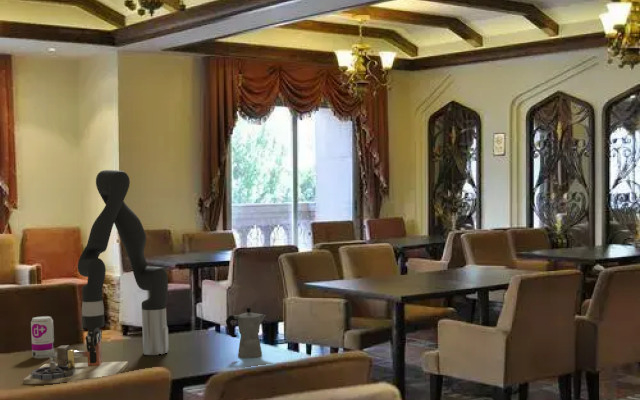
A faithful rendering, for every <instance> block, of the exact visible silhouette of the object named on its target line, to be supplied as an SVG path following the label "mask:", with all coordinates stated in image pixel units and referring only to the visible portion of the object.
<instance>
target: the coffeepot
mask: <svg viewBox="0 0 640 400" xmlns="http://www.w3.org/2000/svg"><path fill="white" fill-rule="evenodd" d="M251 310H252V309H251V307H247V308H246V312H244V313H240V314H233V315H232V314H231V315H228V317H227V318H226V320H225V324H226V326H227V329H228V332H229V334H230V336H231V338H237V336H238V334H234V329H233V325H232V323H231V322H232V321H237V327H238V332H239V334H240V339H239V344H238V345H239V346H238V352H237V353H238V354H237V357H239V358H242V359H243V358H244V359H252V358H253V359H254V358H258V357H261V356H262V355H263V352H262V347H261V341H260V338H259V334H260V328H261V325H262V323H263V321H264V319H265V318H266V317H267V315H266V314H264V313H256V312H251Z"/></svg>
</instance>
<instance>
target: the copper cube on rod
mask: <svg viewBox="0 0 640 400" xmlns="http://www.w3.org/2000/svg"><path fill="white" fill-rule="evenodd" d="M91 348H92V346H91ZM96 350H97V351H96V360H97V362H96V363H90V353H89V352H87V350H74V358H87V363H88V366H99V365H100V364H102V362H103V358H102V354H103V351H102V340H101V341H99V342H98V345H97V346H96ZM67 358H68V351H67ZM48 359H50V362H56V360H55V359H57V351H54V352H49V358H48Z"/></svg>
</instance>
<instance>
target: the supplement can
mask: <svg viewBox="0 0 640 400" xmlns="http://www.w3.org/2000/svg"><path fill="white" fill-rule="evenodd" d="M54 331H55V330H54V319H53V318H52V316H48V315H44V316H43V315H42V316H36V317H35V316H33V317H32V319H31V321H30V332H31V334H30V335H31V356H32V357H33V358H34V359H50V358H49V352H55V335H54V334H55V333H54Z"/></svg>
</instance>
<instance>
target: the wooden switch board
mask: <svg viewBox="0 0 640 400" xmlns="http://www.w3.org/2000/svg"><path fill="white" fill-rule="evenodd" d="M68 350H71V349H70V345H69V344H67V345H66V344H65V345H59V346H58V347H57V348H56V352H57V358H56V359H57V360H56V361H57V362H56V361H55V362H51V361H50V362H49V363H45V364H43V365H42V366H40V367H39V368H43V367H49V366H50V372H53V371H56V366H68V358H67V351H68ZM127 366H128V367H129V361H102V364H100V365H99V366H88V362H75V374H73V375H72V376H68V377H64V378H58V379H44V380H42V379H34V378H32V377H31V373H30V374H29V375H27V376H26V377H24V378H22V385H33V384H37V385H39V384H40V385H41V384H64V383H63V382H69V381H76V380H83V379H89V378H97V377H102V376H108V375H113V374H118V373H121V372H122V373H123V371H125V370H126V369H127V368H128V367H127ZM126 367H127V368H126ZM125 368H126V369H125ZM64 372H66V371H64ZM122 373H121V374H122Z"/></svg>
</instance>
